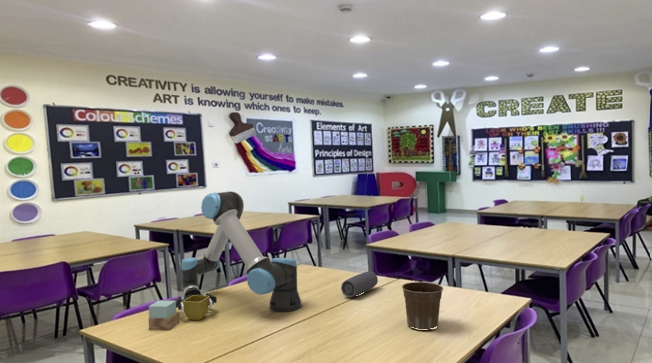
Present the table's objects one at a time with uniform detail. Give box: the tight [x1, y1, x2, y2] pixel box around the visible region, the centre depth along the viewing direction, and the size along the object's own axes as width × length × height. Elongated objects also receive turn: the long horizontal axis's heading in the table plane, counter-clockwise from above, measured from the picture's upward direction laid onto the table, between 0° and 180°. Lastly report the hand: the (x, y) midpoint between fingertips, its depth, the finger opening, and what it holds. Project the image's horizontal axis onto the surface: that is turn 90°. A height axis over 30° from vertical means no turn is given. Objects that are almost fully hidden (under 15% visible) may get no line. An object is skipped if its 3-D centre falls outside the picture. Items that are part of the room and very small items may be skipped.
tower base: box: [148, 311, 180, 331], centre depth 188 cm, size 9×9×5 cm
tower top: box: [148, 300, 177, 319], centre depth 188 cm, size 8×8×5 cm
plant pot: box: [401, 281, 444, 329], centre depth 180 cm, size 16×16×16 cm
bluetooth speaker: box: [340, 270, 379, 298], centre depth 228 cm, size 23×9×10 cm, turn 144°
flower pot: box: [183, 295, 210, 321], centre depth 197 cm, size 9×9×9 cm
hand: (197, 307), depth 193 cm, fingers closed on flower pot, 11 cm apart
